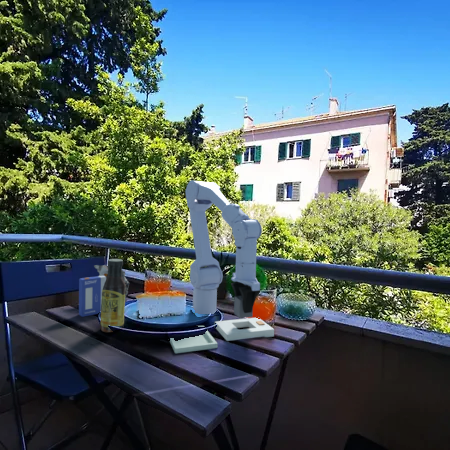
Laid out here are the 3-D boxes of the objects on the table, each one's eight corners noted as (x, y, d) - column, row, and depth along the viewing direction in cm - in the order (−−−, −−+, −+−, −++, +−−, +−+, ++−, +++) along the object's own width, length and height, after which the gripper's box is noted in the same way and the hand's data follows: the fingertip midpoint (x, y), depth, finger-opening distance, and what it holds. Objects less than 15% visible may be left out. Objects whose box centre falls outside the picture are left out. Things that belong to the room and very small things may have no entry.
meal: (89, 301, 114) (89, 265, 113) (98, 298, 118) (99, 264, 117) (120, 308, 107) (121, 270, 107) (129, 305, 111) (130, 268, 111)
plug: (233, 313, 90) (234, 296, 90) (246, 312, 92) (247, 295, 91) (239, 318, 86) (239, 300, 86) (252, 316, 88) (253, 299, 88)
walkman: (82, 317, 98) (82, 278, 97) (78, 314, 100) (79, 277, 99) (106, 311, 103) (107, 275, 103) (103, 309, 105) (103, 274, 105)
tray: (166, 334, 86) (166, 329, 86) (203, 330, 90) (203, 325, 90) (175, 354, 74) (175, 348, 74) (217, 349, 78) (217, 343, 78)
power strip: (214, 328, 92) (214, 320, 92) (257, 323, 97) (258, 316, 96) (226, 342, 82) (227, 333, 82) (273, 336, 87) (274, 328, 87)
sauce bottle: (95, 332, 86) (96, 260, 85) (109, 324, 92) (109, 257, 91) (116, 335, 85) (117, 262, 84) (129, 327, 91) (130, 258, 90)
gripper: (223, 258, 94) (222, 303, 94) (243, 267, 80) (241, 319, 81) (245, 258, 96) (244, 301, 97) (267, 266, 83) (265, 317, 83)
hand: (244, 309), depth 89 cm, fingers closed on plug, 4 cm apart
